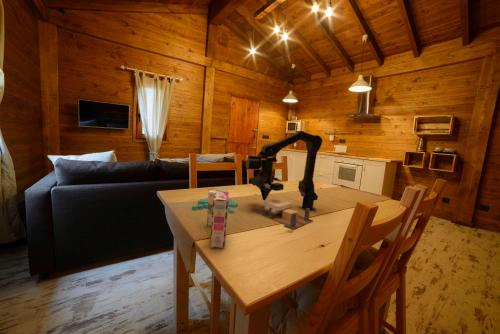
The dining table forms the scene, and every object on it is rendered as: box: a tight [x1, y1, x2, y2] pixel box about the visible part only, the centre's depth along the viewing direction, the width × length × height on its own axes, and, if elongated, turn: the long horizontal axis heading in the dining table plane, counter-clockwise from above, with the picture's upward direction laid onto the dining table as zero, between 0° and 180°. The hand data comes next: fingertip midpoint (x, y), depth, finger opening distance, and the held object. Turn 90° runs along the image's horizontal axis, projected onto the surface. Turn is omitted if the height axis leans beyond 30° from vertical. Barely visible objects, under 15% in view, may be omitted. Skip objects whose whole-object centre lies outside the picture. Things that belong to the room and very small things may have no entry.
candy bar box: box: [209, 191, 229, 249], centre depth 76 cm, size 11×5×16 cm, turn 5°
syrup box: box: [206, 188, 228, 228], centre depth 89 cm, size 6×6×14 cm
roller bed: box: [247, 205, 314, 231], centre depth 105 cm, size 16×27×6 cm, turn 45°
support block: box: [282, 209, 299, 221], centre depth 101 cm, size 5×5×4 cm
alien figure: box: [191, 197, 239, 214], centre depth 113 cm, size 20×2×20 cm
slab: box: [263, 197, 293, 211], centre depth 106 cm, size 10×9×2 cm
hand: (264, 200), depth 112 cm, fingers closed
